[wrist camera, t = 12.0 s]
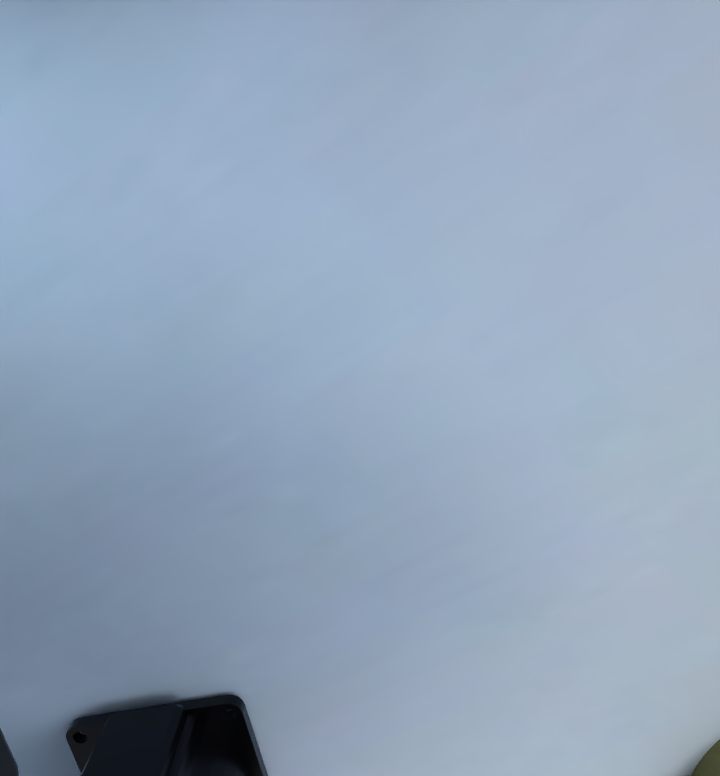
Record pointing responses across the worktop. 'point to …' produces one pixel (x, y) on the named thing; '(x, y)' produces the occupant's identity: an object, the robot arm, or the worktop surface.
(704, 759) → the cookie cutter
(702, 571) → the worktop surface
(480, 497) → the worktop surface
